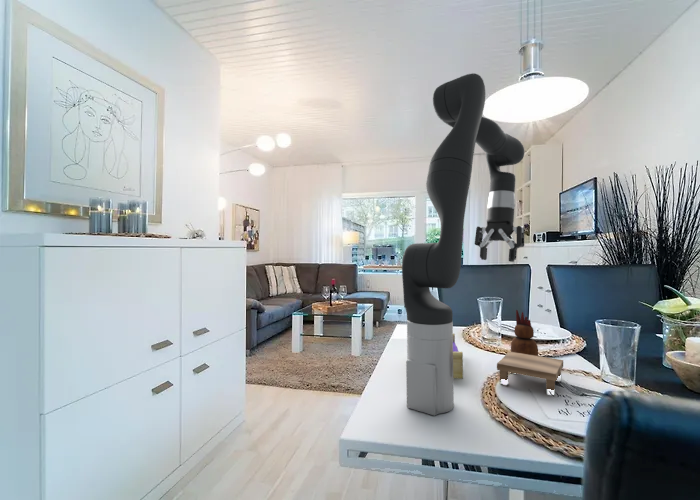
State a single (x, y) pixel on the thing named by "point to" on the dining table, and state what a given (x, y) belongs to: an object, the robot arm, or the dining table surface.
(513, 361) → the footstool
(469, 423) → the dining table surface
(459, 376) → the toy sofa
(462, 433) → the dining table surface
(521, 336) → the wooden figurine
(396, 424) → the dining table surface
